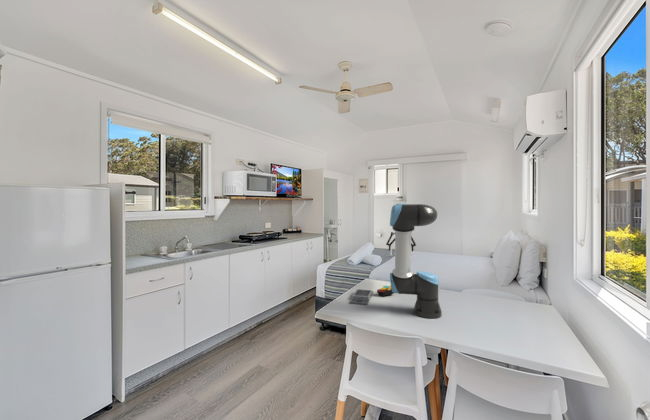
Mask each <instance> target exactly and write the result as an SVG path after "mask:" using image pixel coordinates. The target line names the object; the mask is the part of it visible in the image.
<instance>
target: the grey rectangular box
mask: <svg viewBox="0 0 650 420" xmlns="http://www.w3.org/2000/svg"><path fill="white" fill-rule="evenodd" d="M373 294H374V291H373V290H372V289H361V288H356V290H355V291H354V293H352V295H351V300H350V301H349V304H350V305H360V306H368V304H369V303H370V301H371V299H372V297H373Z"/></svg>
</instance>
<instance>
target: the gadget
mask: <svg viewBox="0 0 650 420" xmlns="http://www.w3.org/2000/svg"><path fill="white" fill-rule="evenodd" d="M376 293H377V294H378V296H380V297H385V296H392V295H393V294H395V293H393V292H392V289H391V285H383V286H382V287H381V288H379V289H377V290H376Z"/></svg>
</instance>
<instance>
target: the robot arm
mask: <svg viewBox="0 0 650 420" xmlns="http://www.w3.org/2000/svg"><path fill="white" fill-rule="evenodd" d="M437 211H438V210H437V209H436V208H435V207H433V206H432V205H428V204H417V203H415V204H413V203H412V204H411V203H410V204H406V203H396V204H393V205H392V207H391V210H390V219H389V226H391V227H392V230H393V231H394V232H393V231H391V232H390V236H389V238H388V240H387V242H386V246H388V251H390V253H389V255H390V256H393V254H392V253H393V252H392V251H393V250H392V249H393V246H392V245H393V244H394V251H395V252H394V268H393V269H392V272H390V273H389V281H390V286H391V289H392V292H393V293H394V294H398V295H415V296H416V301H415V302H414V306H413V313H414V314H415V315H417V316H419V317H420V318H423V319H424V318H426V319H438V318H441V317H442V315H443V311H442V308H441V305H440V303H439V285H440V284H439V283H440V282H439V277H438V276H437V275H436V274H434V273H432V272H429V271H422V270H421V271H418V270H417V272H416V273H414V270H412V268H411V265H412V264H411V263H412V261H411V260H412V259H411V257H412V255H413V252H414V247H416V246H417V244H416V242H415V240H414V238H413V235H412V232H414V231H415V227H425V226H428V225H431V224H432V223H434V222H436V220H437V218H438V212H437ZM393 236H394V238H393V240H391V239H392V237H393ZM390 241H391V242H390Z"/></svg>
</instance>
